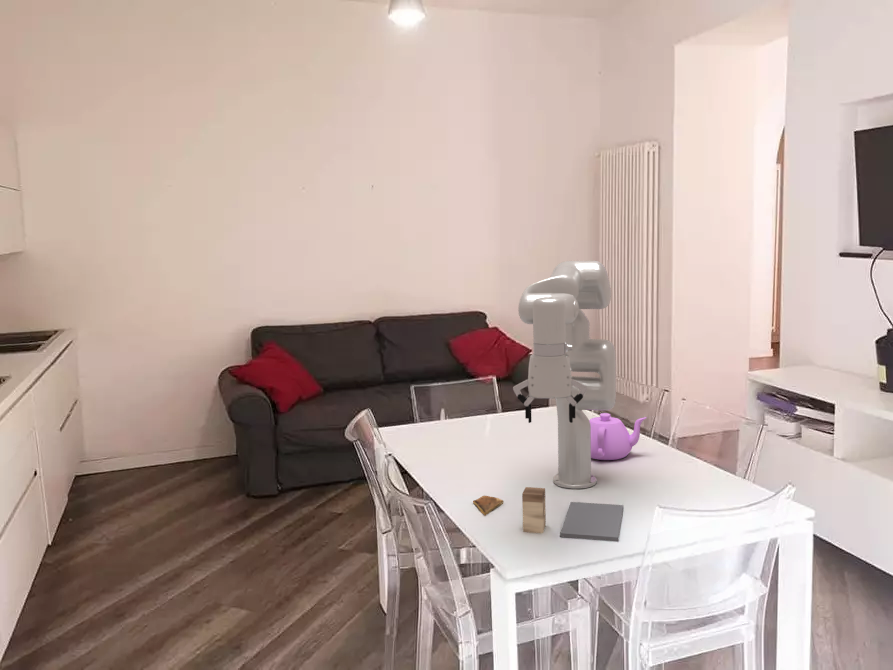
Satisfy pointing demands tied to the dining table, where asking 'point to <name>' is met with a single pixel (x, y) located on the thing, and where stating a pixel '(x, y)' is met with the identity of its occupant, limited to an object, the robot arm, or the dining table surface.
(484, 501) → the shard
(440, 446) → the dining table surface
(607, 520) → the mat
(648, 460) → the dining table surface
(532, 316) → the robot arm
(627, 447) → the teapot
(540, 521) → the maple block
